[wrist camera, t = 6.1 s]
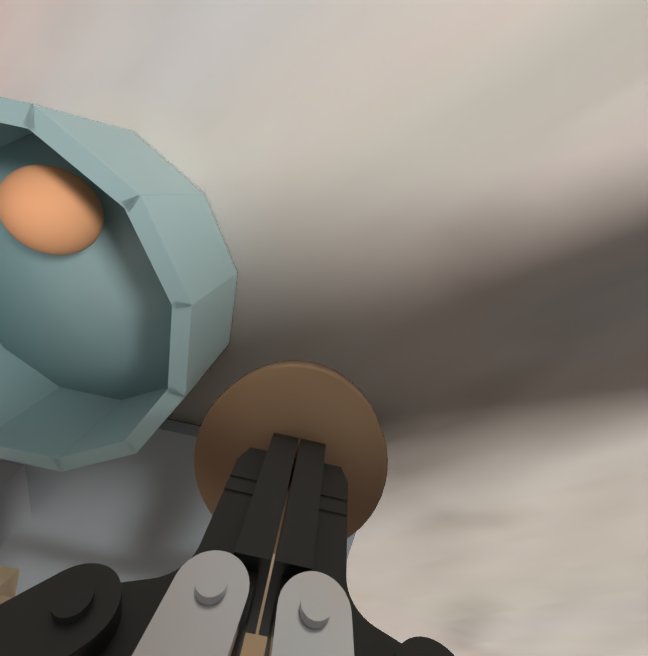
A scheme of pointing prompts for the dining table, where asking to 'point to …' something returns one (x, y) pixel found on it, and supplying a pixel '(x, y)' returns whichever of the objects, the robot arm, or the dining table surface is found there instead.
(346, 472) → the lever
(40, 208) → the ball
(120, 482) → the stand
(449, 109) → the dining table surface
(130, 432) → the bowl
